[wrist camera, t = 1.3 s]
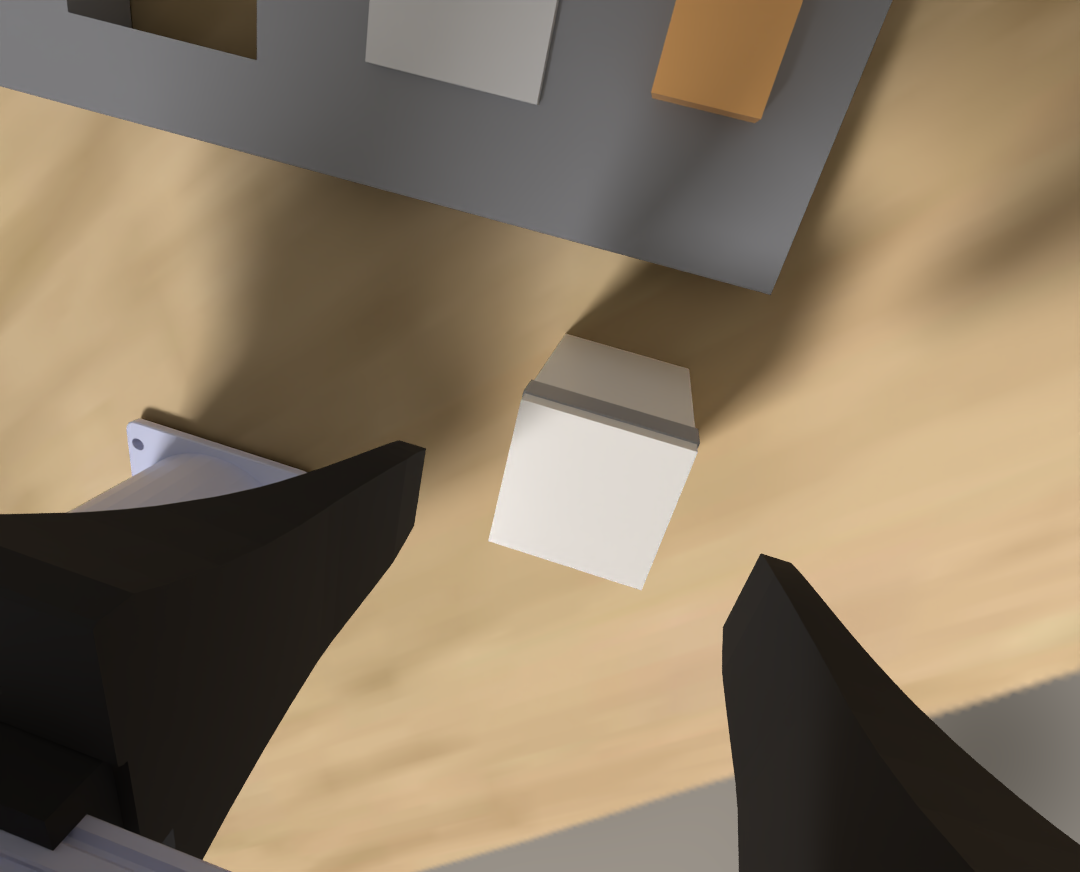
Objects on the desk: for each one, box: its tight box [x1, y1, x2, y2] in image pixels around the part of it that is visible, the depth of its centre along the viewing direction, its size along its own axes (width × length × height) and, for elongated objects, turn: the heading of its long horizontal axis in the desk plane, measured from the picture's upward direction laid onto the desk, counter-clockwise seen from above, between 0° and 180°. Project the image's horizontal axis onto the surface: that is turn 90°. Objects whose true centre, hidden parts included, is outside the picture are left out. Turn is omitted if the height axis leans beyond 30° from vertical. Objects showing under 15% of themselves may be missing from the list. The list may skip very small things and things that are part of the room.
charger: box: [488, 333, 700, 590], centre depth 16 cm, size 4×4×6 cm
